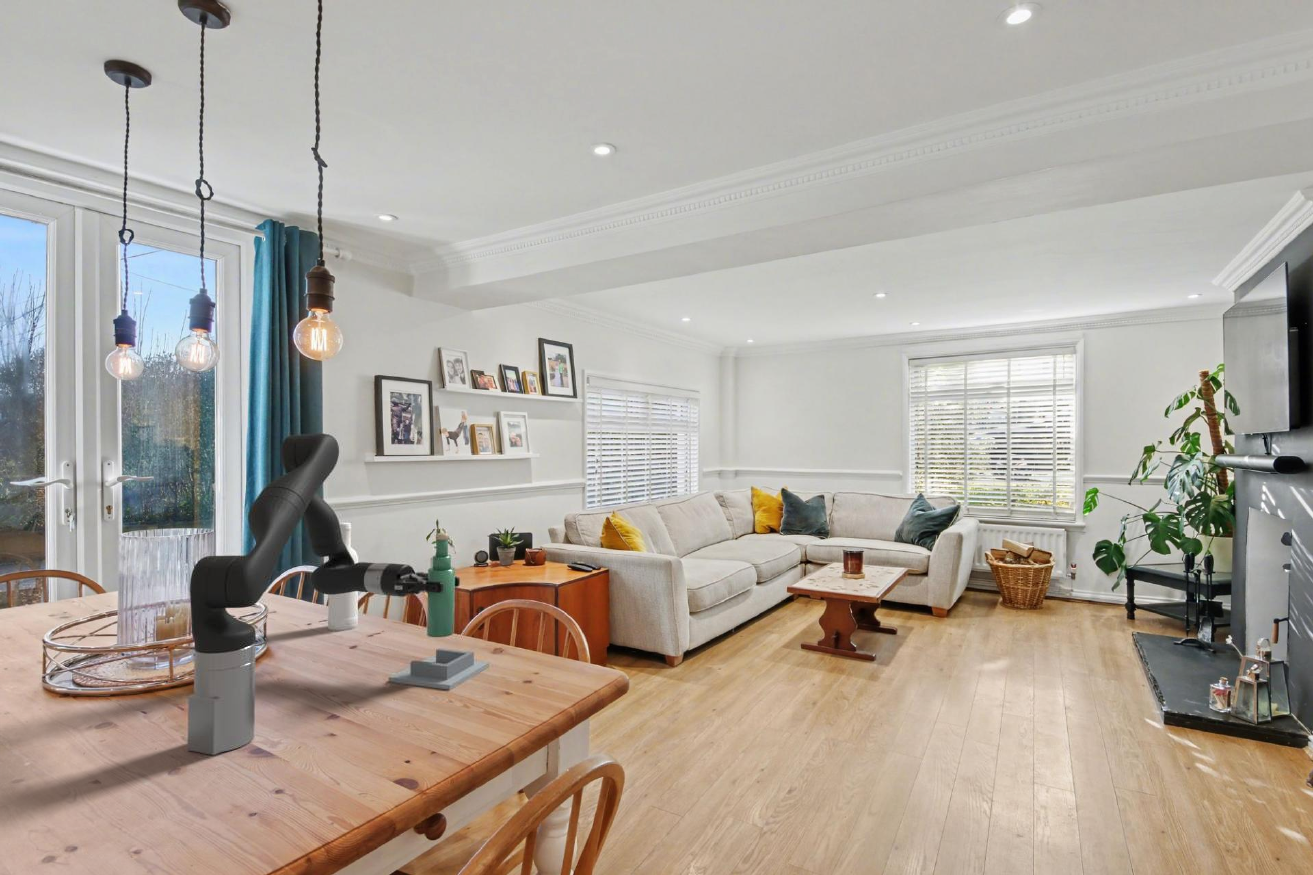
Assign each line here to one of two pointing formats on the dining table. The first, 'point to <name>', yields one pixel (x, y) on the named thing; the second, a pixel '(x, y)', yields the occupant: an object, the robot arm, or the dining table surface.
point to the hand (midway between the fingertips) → (450, 584)
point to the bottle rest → (441, 670)
